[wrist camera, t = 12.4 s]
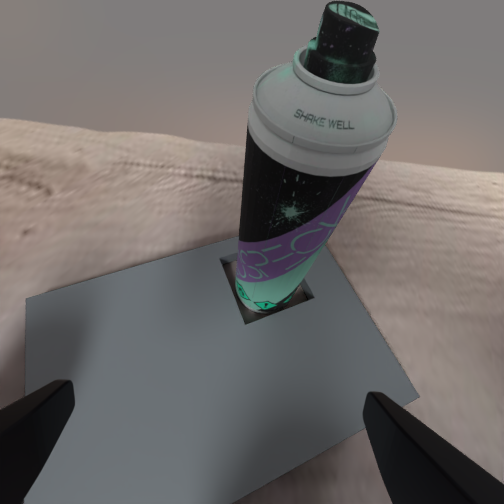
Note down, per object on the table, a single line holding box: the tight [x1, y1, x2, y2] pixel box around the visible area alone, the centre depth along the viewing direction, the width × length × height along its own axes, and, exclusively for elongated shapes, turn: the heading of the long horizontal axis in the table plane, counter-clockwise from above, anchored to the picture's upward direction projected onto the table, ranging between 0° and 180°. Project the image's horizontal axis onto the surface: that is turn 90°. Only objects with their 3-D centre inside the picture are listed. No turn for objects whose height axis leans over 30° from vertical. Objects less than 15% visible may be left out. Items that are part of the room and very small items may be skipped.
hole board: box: [24, 236, 420, 504], centre depth 21 cm, size 18×26×2 cm
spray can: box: [235, 1, 397, 314], centre depth 16 cm, size 6×6×20 cm
